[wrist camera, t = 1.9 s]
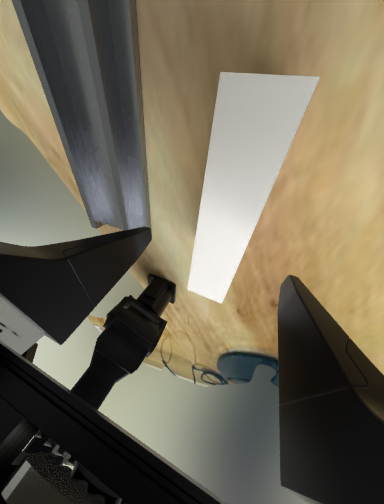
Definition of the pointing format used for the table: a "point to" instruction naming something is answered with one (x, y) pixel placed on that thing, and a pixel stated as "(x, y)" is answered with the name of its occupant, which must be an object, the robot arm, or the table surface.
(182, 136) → the table surface
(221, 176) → the door panel
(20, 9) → the track
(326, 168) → the table surface
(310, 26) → the table surface
